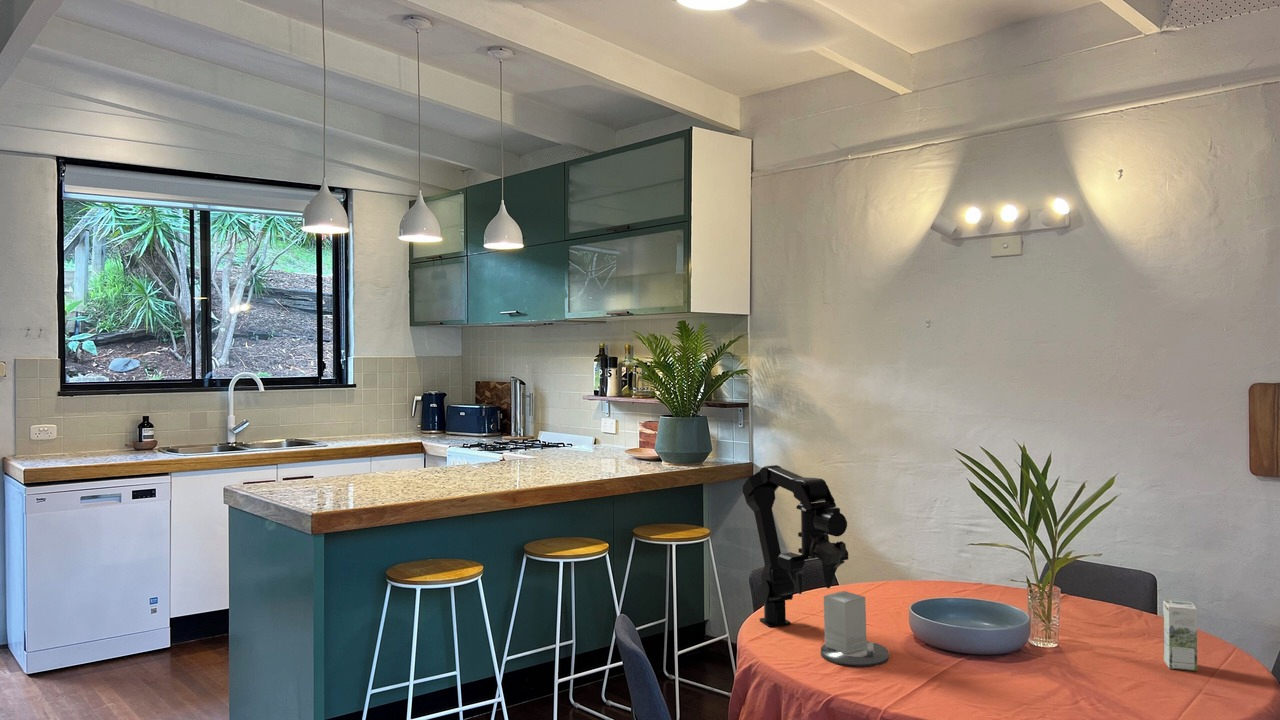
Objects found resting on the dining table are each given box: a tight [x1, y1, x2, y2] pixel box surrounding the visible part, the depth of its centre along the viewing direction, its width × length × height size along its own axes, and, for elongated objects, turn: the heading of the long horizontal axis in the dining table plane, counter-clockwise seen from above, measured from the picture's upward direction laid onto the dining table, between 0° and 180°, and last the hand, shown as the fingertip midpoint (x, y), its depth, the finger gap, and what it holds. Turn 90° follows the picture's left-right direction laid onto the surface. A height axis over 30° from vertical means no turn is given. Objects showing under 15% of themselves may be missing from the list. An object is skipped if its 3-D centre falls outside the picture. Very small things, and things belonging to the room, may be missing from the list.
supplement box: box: [823, 590, 868, 654], centre depth 219 cm, size 7×7×13 cm
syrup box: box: [1162, 599, 1198, 672], centre depth 205 cm, size 6×6×14 cm
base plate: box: [820, 640, 890, 668], centre depth 217 cm, size 16×16×4 cm
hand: (814, 590), depth 227 cm, fingers open, 9 cm apart
